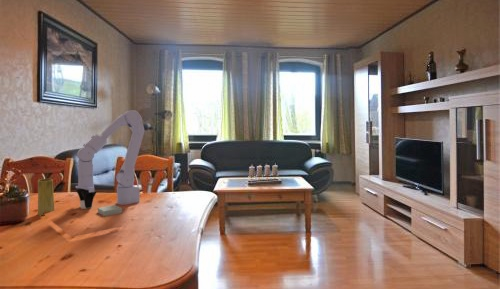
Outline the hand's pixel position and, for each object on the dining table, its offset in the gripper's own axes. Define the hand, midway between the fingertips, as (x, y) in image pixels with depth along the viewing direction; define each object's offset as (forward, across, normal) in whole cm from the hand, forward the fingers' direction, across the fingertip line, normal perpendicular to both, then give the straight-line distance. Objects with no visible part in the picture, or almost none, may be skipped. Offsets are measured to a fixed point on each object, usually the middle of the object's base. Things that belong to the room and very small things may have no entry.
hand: (86, 206), depth 138 cm
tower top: (0, +16, +4) cm, 16 cm away
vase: (+2, -5, -14) cm, 15 cm away
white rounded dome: (+1, 0, 0) cm, 1 cm away
